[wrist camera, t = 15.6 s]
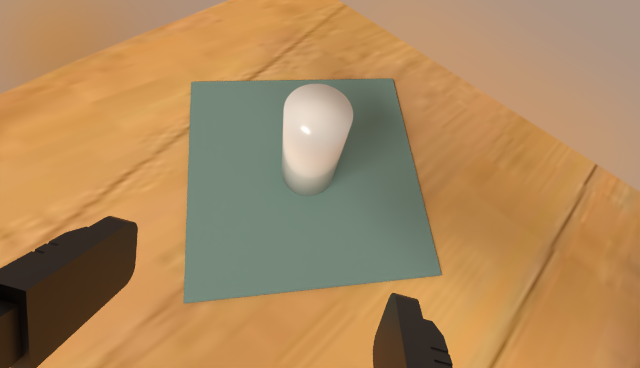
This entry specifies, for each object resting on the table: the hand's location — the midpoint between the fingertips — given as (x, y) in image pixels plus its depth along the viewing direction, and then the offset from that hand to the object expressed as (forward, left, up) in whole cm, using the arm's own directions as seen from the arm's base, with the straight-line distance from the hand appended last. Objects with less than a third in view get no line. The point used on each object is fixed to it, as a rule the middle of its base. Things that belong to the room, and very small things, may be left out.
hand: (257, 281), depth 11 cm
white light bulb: (-4, -11, -16) cm, 20 cm away
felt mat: (-4, -11, -17) cm, 20 cm away
